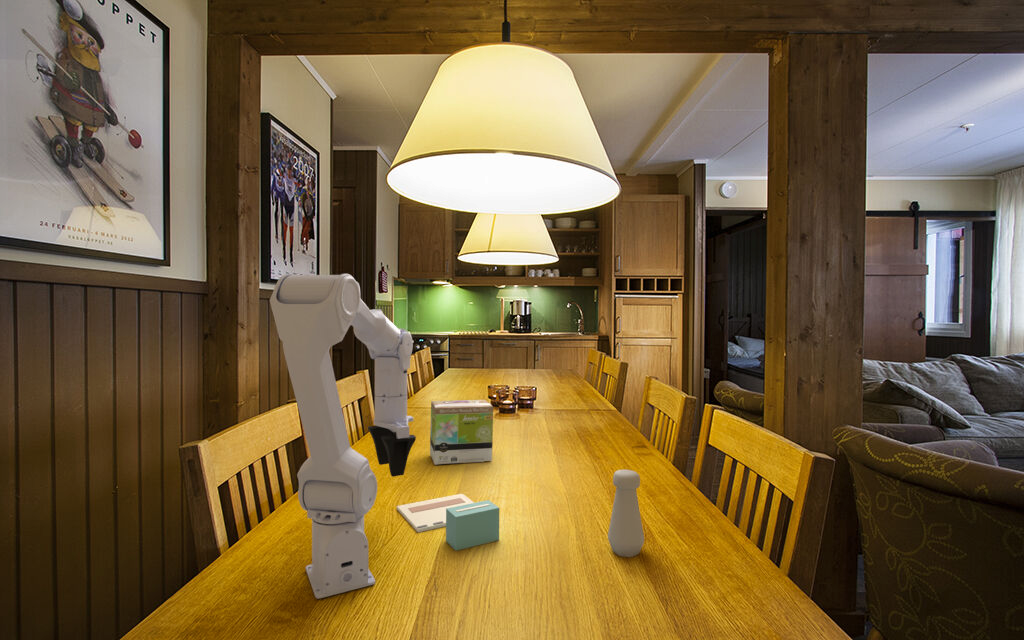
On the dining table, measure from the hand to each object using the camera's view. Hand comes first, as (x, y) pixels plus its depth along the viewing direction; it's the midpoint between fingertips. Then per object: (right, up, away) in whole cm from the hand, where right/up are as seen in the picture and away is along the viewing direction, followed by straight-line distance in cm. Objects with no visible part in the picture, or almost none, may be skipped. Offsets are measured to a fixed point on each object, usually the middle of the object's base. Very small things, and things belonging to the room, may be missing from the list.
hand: (390, 469), depth 93 cm
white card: (+9, -10, +5) cm, 14 cm away
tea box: (+9, -9, +41) cm, 43 cm away
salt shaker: (+40, -11, -10) cm, 43 cm away
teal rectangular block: (+15, -10, -6) cm, 20 cm away
